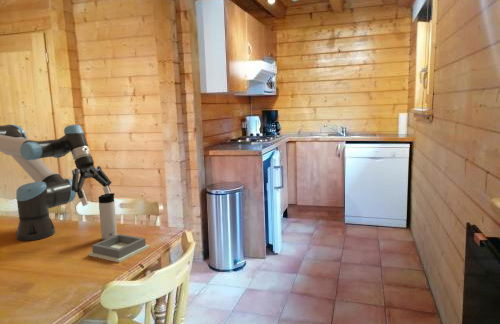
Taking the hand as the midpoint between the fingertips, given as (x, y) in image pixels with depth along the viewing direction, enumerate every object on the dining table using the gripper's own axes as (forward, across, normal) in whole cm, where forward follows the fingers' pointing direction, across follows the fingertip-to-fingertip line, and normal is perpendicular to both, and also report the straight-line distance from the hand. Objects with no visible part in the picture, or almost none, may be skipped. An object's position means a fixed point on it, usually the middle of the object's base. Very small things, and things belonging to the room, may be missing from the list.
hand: (98, 202), depth 165 cm
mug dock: (+24, -11, -14) cm, 30 cm away
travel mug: (+17, -1, -1) cm, 17 cm away
